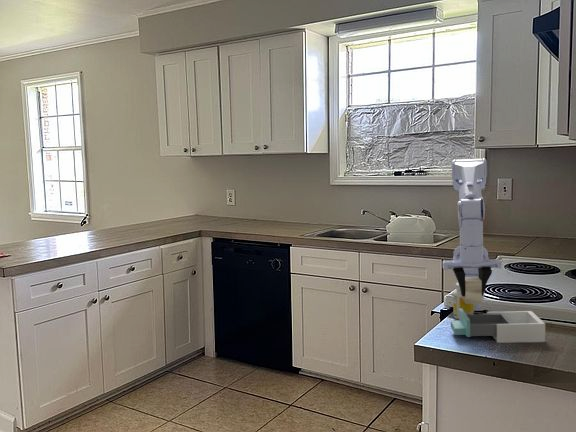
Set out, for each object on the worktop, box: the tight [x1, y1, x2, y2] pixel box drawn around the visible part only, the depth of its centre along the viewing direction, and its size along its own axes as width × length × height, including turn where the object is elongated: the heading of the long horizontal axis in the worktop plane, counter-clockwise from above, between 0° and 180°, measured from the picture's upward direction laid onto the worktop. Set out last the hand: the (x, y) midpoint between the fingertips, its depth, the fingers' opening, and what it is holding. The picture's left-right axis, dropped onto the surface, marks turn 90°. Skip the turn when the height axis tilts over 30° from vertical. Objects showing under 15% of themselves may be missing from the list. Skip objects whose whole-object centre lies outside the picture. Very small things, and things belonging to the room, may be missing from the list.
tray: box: [450, 309, 510, 338], centre depth 135 cm, size 9×13×4 cm
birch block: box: [463, 277, 482, 304], centre depth 142 cm, size 4×4×6 cm
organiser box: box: [486, 310, 546, 344], centre depth 134 cm, size 10×11×4 cm
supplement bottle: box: [452, 282, 475, 320], centre depth 149 cm, size 5×5×10 cm
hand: (472, 295), depth 142 cm, fingers closed on birch block, 4 cm apart
